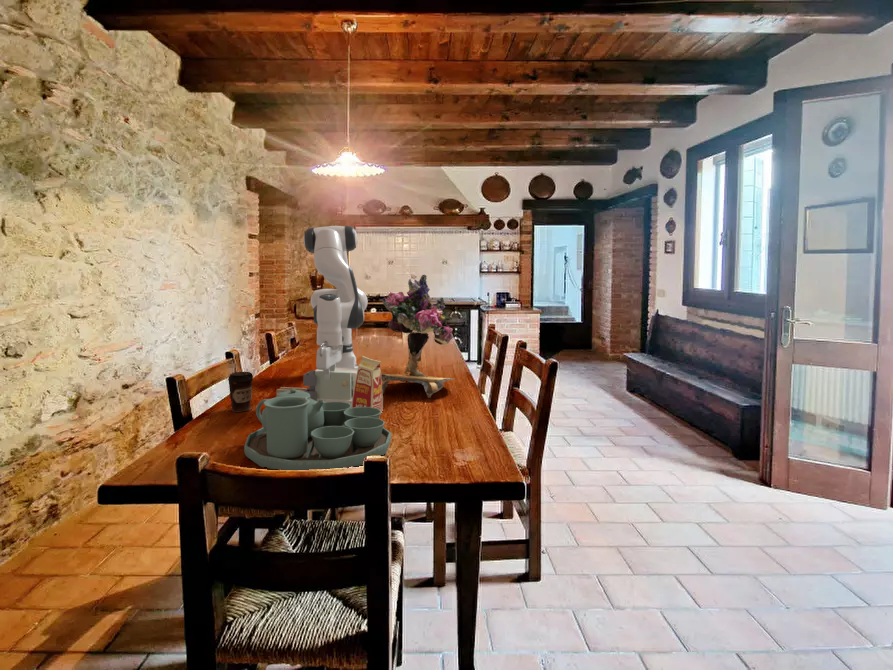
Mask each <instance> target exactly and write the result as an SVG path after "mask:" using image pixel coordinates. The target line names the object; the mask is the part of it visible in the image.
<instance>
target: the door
mask: <svg viewBox="0 0 893 670" xmlns="http://www.w3.org/2000/svg"><path fill="white" fill-rule="evenodd" d="M315 370H316V369H315ZM315 370H309V371H308V372H309V375H316V386H308V388H309V391H316V395H317V399H338V400H351V372H336V371H330V379H325V378H324V372H323V371H315Z"/></svg>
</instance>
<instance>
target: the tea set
mask: <svg viewBox="0 0 893 670" xmlns="http://www.w3.org/2000/svg"><path fill="white" fill-rule="evenodd" d="M323 402H324V401H323V400H322V399H320V400H319V401H318V402H317V401H315V400H313V399H311V398H310V394H309V393H307V392H304V391H296V389H291V390H290V391H285V392H282V393H279V394H278V395H277V394H276V395H275V397H273V398H263V399H262V400H260V401H259V402H258V403H257V405H256V408H255V414H256V416H257V419H258V421H259V422H260V423H261V425H262V426H261V428H259V429H257V430H254V431H253V432H251V433H249V434H248V436H247V438H246V441H245V443H244V446H243V447H244V448H243V450H244V451H243V452H244V454H245V456H246V457H247V458H248V459H250V460H251V461H252V462H253V463H255V464H256V465H257V466H259V467H261V468H264V467H267V468H266V469H271V470H275V469H281V470H309V469H330V468H343V467H351V466H357V467H361V466H360V465H362V464H363V461H364V458H365V457H366V456H370V455H383V456H385V455H386V454H387V452H388V449H389V447H390V443H391V440H392V432H390V431H389V430H388V429H387V428H385V427H384V426H385V423H386V422H385V421H384V420H383V419H381V417H380V416H381V415H382V414H381V412H382V411H381V410H379V409H377V408H373V407H354V408H351V407H352V405H350V404H349V403H345V402H324V403H323ZM263 405H264V407H265V408H264V409H263V410H262V411H261V408H262V406H263ZM382 413H383V412H382ZM384 454H385V455H384ZM362 466H363V465H362Z"/></svg>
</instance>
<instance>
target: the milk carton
mask: <svg viewBox="0 0 893 670" xmlns="http://www.w3.org/2000/svg"><path fill="white" fill-rule="evenodd" d="M361 358H362V359H361V361H360V362H359V364H358V365H357V366H358V370H357V375H356V379H355V384H354V390H353V396H352V404H351V405H352V407H351V408H354V407H373V408H377V409H379V410H381V411H384V409H383V408H384V396H383V394H382V380H381V375H382V373H381V372H382V371H381V363H382V361H381V360H376V359H371V358H369V357H367V356H364V355H361ZM381 413H382V414H383V412H381Z"/></svg>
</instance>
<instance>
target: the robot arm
mask: <svg viewBox="0 0 893 670" xmlns="http://www.w3.org/2000/svg"><path fill="white" fill-rule="evenodd" d="M358 237H359V236H358V233H357V231H356V229H355V228H354V227H353V226H351V225H344V226H343V225H330V226H329V225H328V226H320V227H319V226H318V227H310V228H307V229H306V230H305V231H304V234H303V237H302V239H303V240H302V241H303V245H304V248H305V250H306V251H307V252H308V253H310V254H311V253H312V254H313V261H314V267H315V269H316V270H317V272H318V273H319V274H320V275H322V276H323V278H324V280H325V281H326V282H327V283H328V284H330V285H333V286H334V287H335V288H321V289H316V290H314V291H313V293H312V294H311V297H310V305H311V307H312V311H313V321H312V322H313V323H314V324H315V325H316V326H317V329H316V345H317V346H319V347H318V348H317V350H316V360H315V361H316V362H315V363H316V365H315V366H316V370H317V369H318V370H323V372H324V378H325V379H330V371H335V368H358V366H359V365H358V364H357V357H356V355H355V353H354V342H352V338H353V337H352V331H353V330H357V329H358V328H360V327H361V326H362V325H363V324H364V321H365V310H366V309H367V307H368V303H369V302H368V297H367V294H366V293H365V292H364V291H363V290H361V289H360V288H359V287H358V286H357V281H356V277H355V275H354V271H353V268H352V267H351V266H350V265H349V261H348V254H347V253H348V252H352V251H354V250H355V249H357V245H358V242H359V238H358ZM352 329H353V330H352Z"/></svg>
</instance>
